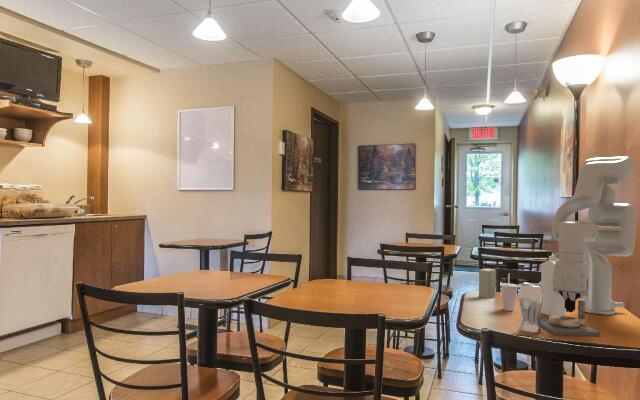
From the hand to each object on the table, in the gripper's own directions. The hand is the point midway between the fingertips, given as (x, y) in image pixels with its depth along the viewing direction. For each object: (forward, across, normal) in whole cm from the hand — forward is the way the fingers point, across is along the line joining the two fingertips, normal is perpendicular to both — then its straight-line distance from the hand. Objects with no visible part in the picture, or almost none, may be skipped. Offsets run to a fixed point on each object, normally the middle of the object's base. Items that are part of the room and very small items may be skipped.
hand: (569, 311), depth 153 cm
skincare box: (+4, -39, +24) cm, 46 cm away
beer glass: (+5, -7, -16) cm, 19 cm away
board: (+5, 0, -5) cm, 7 cm away
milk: (+5, -9, +12) cm, 16 cm away
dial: (+3, 0, -4) cm, 6 cm away
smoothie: (+5, -23, +7) cm, 25 cm away
